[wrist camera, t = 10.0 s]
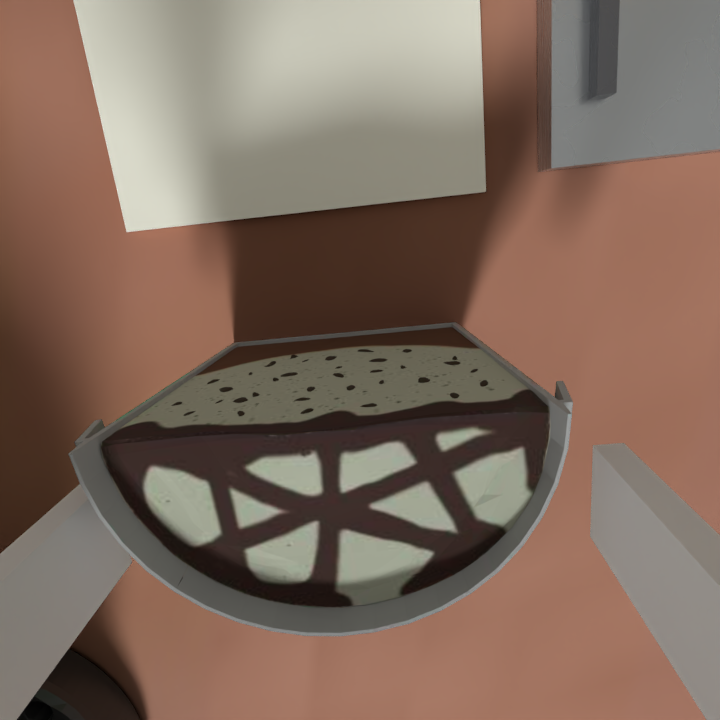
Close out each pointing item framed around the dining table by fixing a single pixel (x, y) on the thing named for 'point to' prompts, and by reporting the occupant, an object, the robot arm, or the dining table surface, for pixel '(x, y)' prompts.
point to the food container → (331, 476)
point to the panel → (626, 80)
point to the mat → (284, 104)
